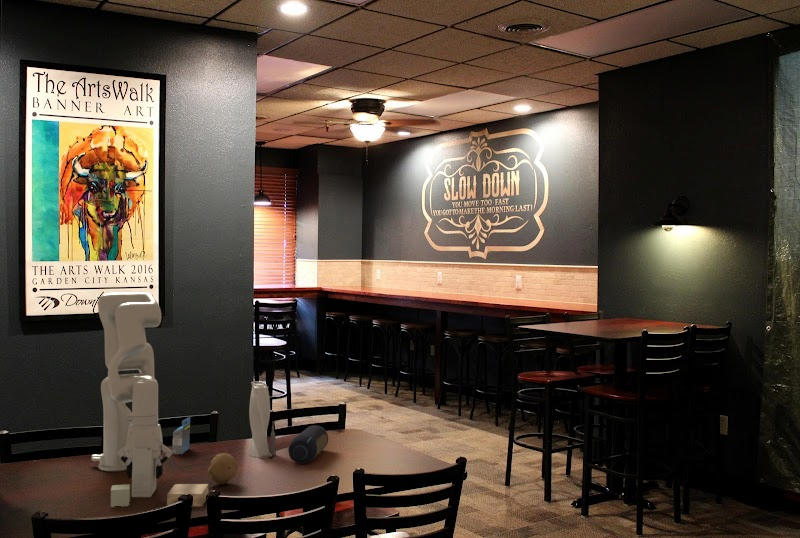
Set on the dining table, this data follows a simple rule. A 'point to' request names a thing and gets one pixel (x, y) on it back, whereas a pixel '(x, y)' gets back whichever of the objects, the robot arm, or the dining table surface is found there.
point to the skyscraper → (260, 421)
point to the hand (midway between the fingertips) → (144, 477)
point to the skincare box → (143, 473)
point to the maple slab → (193, 489)
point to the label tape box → (181, 438)
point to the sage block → (120, 495)
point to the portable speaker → (308, 444)
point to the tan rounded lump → (222, 468)
